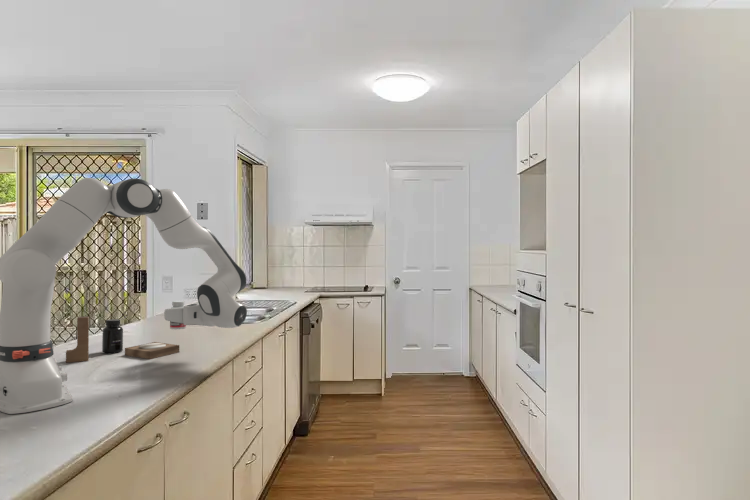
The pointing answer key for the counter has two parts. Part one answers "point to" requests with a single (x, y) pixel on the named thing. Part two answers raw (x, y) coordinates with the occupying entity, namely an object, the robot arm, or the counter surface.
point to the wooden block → (80, 342)
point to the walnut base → (152, 350)
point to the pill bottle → (174, 324)
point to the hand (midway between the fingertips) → (176, 310)
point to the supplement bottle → (112, 337)
